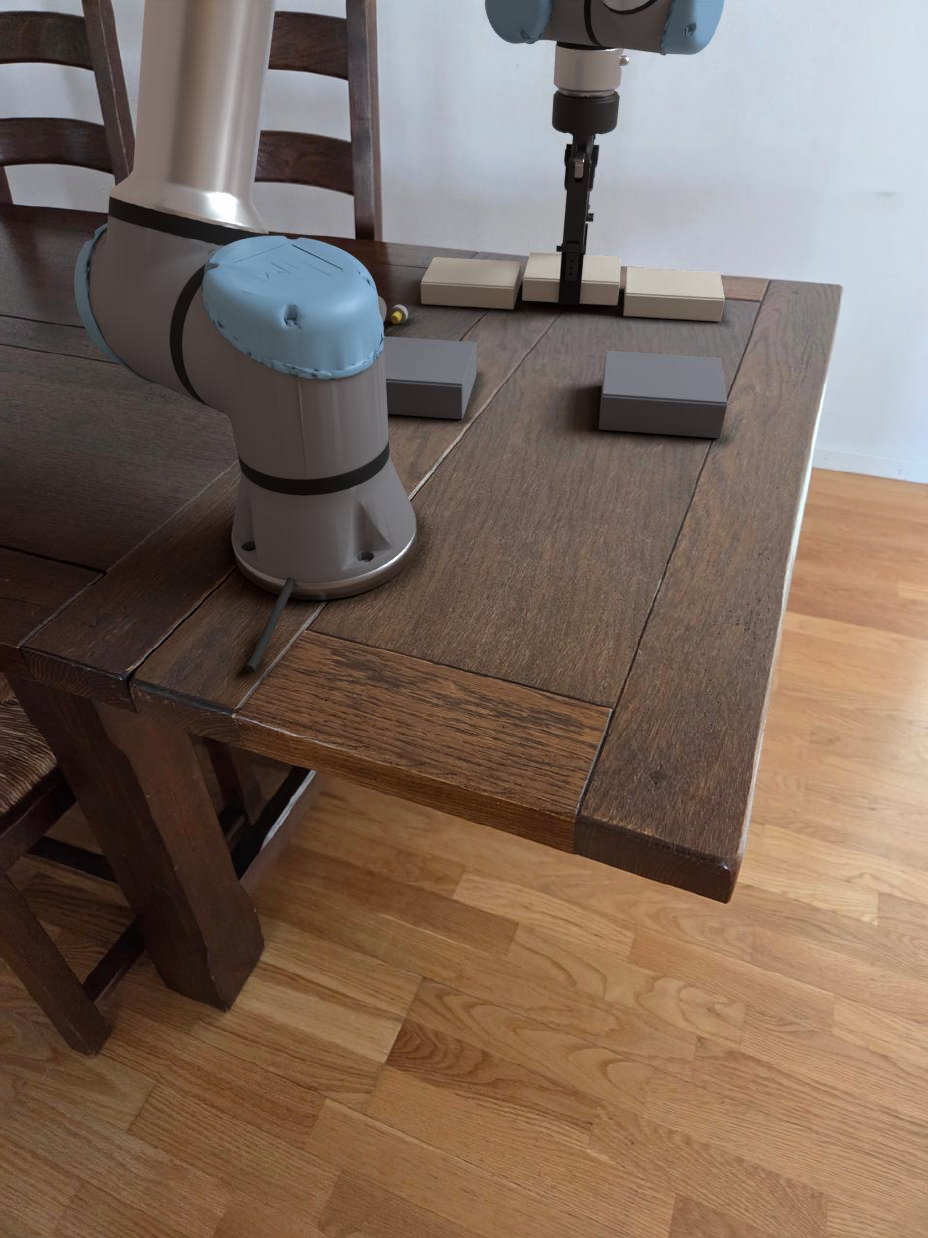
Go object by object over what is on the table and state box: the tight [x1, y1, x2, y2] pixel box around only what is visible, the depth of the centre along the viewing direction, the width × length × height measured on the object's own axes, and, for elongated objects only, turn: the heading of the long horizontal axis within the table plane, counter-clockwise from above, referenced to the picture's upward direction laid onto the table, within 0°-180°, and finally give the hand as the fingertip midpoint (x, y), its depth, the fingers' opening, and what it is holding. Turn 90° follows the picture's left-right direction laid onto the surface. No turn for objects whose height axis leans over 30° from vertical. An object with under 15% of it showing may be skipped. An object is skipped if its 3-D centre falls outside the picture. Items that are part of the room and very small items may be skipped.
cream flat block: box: [420, 256, 523, 310], centre depth 113 cm, size 9×12×3 cm
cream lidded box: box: [622, 266, 726, 322], centre depth 110 cm, size 9×12×3 cm
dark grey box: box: [598, 350, 728, 439], centre depth 89 cm, size 10×12×4 cm
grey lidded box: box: [384, 336, 478, 420], centre depth 92 cm, size 10×12×4 cm
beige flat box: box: [521, 252, 622, 306], centre depth 111 cm, size 9×12×3 cm
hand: (571, 288), depth 112 cm, fingers closed on beige flat box, 9 cm apart
